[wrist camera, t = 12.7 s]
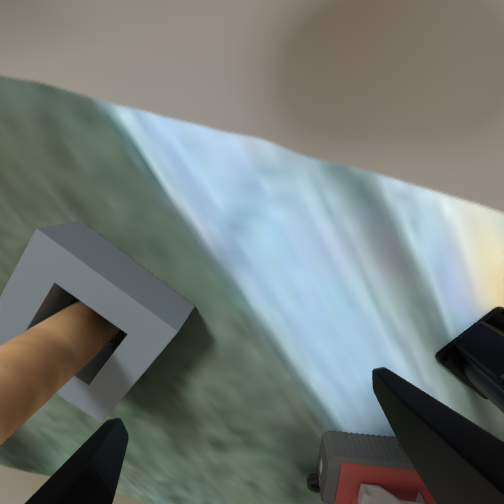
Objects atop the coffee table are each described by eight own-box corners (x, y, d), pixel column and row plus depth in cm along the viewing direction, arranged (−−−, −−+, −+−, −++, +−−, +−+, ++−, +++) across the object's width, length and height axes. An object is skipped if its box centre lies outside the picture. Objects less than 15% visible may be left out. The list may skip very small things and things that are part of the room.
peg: (137, 327, 22) (-22, 492, 10) (96, 335, 23) (-102, 500, 11) (120, 285, 21) (-81, 411, 9) (77, 294, 22) (-165, 425, 10)
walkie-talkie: (302, 484, 26) (492, 506, 25) (309, 541, 22) (538, 571, 21) (310, 423, 24) (519, 444, 23) (319, 474, 20) (578, 503, 18)
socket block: (195, 305, 21) (178, 331, 17) (128, 385, 24) (101, 423, 20) (82, 221, 20) (36, 228, 16) (26, 316, 23) (-24, 341, 19)
